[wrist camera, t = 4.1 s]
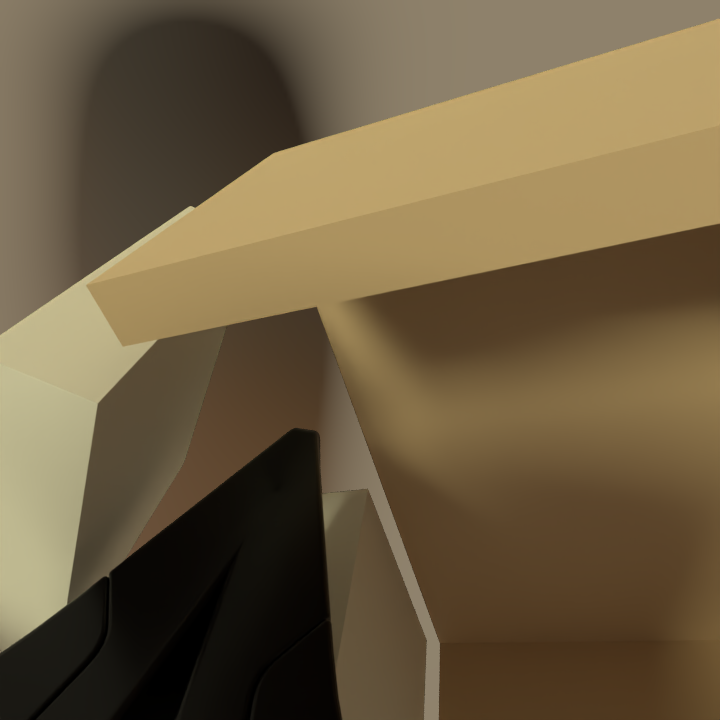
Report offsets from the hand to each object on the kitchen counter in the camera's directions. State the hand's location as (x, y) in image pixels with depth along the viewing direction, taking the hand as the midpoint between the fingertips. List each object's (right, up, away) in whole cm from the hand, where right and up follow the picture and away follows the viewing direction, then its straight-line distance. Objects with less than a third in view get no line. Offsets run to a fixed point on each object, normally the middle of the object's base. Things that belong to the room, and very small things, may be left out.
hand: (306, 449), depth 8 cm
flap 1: (-2, +2, +1) cm, 3 cm away
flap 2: (+1, -3, +3) cm, 5 cm away
